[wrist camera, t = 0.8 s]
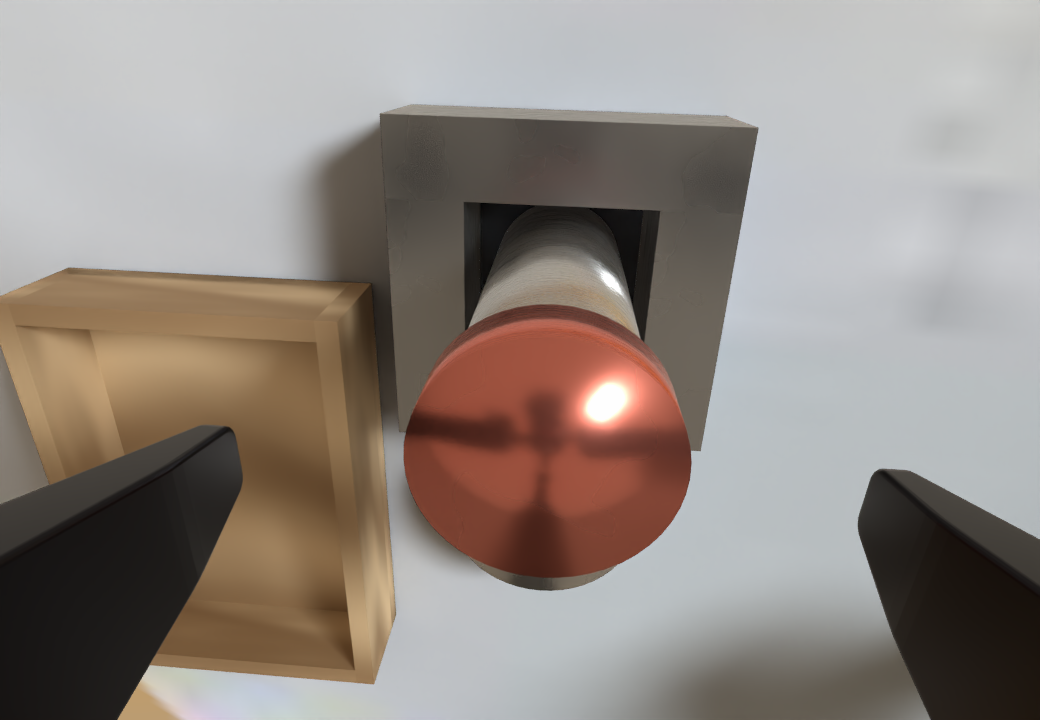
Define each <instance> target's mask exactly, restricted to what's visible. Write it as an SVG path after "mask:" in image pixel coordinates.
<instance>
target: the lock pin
mask: <svg viewBox="0 0 1040 720" xmlns="http://www.w3.org/2000/svg"><path fill="white" fill-rule="evenodd" d="M404 466H405V474H406V478H407V481H408V485H409V488H410V491H411V493H412V495H413V498H414V500H415V502H416V504H417V506H418V507H419V509H420V510H421V512H422V514H423V515H424V517H425V518H426V519H427V521H428V522H429V523H430V524H431V525H432V527H433V528H434V529H435V530H436V531H437V532H438V533H439V534H440V535H441V536H442V537H443V538H444V539H445V540H446V541H448V542H449V543H450V544H452V545H453V546H454V547H456V548H457V549H458V550H460V551H461V552H463V553H465V554H466V555H468V556H470V557H471V558H473V559H475V560H477V561H479V562H482V563H484V564H486V565H488V566H491V567H494V568H497V569H500V570H502V571H505V572H510V573H514V574H519V575H524V576H532V577H542V578H561V577H574V576H580V575H585V574H590V573H594V572H597V571H601V570H604V569H607V568H610V567H612V566H615V565H617V564H620V563H622V562H624V561H626V560H627V559H629V558H631V557H633V556H635V555H636V554H638V553H639V552H641V551H642V550H644V549H645V548H646V547H648V546H649V545H650V544H651V543H652V542H654V541H655V540H656V539H657V538H658V537H659V536H660V535H661V534H662V533H663V532H664V530H665V529H666V528H667V527H668V526H669V524H670V523H671V522H672V520H673V519H674V517H675V516H676V514H677V512H678V511H679V509H680V507H681V505H682V502H683V500H684V498H685V495H686V492H687V488H688V485H689V481H690V473H691V448H690V443H689V438H688V434H687V430H686V427H685V423H684V420H683V417H682V414H681V411H680V407H679V404H678V401H677V398H676V394H675V391H674V388H673V386H672V383H671V381H670V378H669V376H668V373H667V372H666V370H665V368H664V367H663V365H662V363H661V361H660V360H659V359H658V357H657V356H656V355H655V354H654V352H653V351H652V350H651V349H650V347H649V346H648V345H647V344H645V343H644V342H643V341H642V340H641V339H640V335H639V331H638V327H637V323H636V319H635V315H634V311H633V307H632V303H631V299H630V295H629V290H628V286H627V282H626V278H625V274H624V270H623V266H622V262H621V258H620V254H619V250H618V246H617V242H616V240H615V237H614V235H613V233H612V231H611V229H610V228H609V227H608V225H607V224H606V223H605V221H604V220H602V219H601V218H600V217H599V216H598V215H597V214H596V213H594V212H593V211H591V210H589V209H588V208H586V207H567V206H545V205H537V206H535V207H532V208H530V209H529V210H527V211H525V212H524V213H522V214H521V215H520V216H519V217H517V218H516V219H515V220H514V222H513V223H512V224H511V225H510V226H509V228H508V229H507V231H506V233H505V235H504V236H503V239H502V241H501V244H500V247H499V249H498V252H497V254H496V257H495V260H494V262H493V265H492V267H491V270H490V273H489V275H488V278H487V281H486V283H485V286H484V288H483V291H482V294H481V296H480V299H479V301H478V304H477V307H476V309H475V312H474V314H473V317H472V320H471V322H470V325H469V327H468V329H466V330H465V331H464V332H462V333H461V334H460V335H458V336H457V337H456V338H455V339H454V340H453V341H452V342H451V343H450V344H449V345H448V346H447V347H446V348H445V350H444V351H443V353H442V354H441V355H440V357H439V358H438V359H437V361H436V363H435V365H434V367H433V368H432V370H431V372H430V374H429V376H428V379H427V381H426V383H425V385H424V387H423V390H422V392H421V394H420V396H419V399H418V401H417V403H416V405H415V407H414V410H413V412H412V414H411V417H410V420H409V423H408V426H407V429H406V435H405V440H404Z"/></svg>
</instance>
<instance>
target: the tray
mask: <svg viewBox="0 0 1040 720" xmlns="http://www.w3.org/2000/svg"><path fill="white" fill-rule="evenodd" d="M0 345H1V348H2V351H3V354H4V357H5V359H6V362H7V365H8V368H9V371H10V374H11V377H12V379H13V382H14V385H15V388H16V391H17V394H18V396H19V399H20V402H21V405H22V408H23V411H24V413H25V416H26V419H27V422H28V425H29V428H30V430H31V433H32V436H33V439H34V442H35V445H36V447H37V450H38V453H39V456H40V459H41V462H42V465H43V467H44V470H45V473H46V476H47V479H48V482H49V484H50V485H51V484H53V483H56V482H58V481H61V480H63V479H66V478H68V477H71V476H73V475H76V474H78V473H81V472H83V471H86V470H88V469H91V468H94V467H96V466H99V465H101V464H104V463H106V462H109V461H111V460H114V459H116V458H119V457H121V456H124V455H126V454H129V453H131V452H134V451H136V450H139V449H141V448H144V447H146V446H149V445H151V444H154V443H156V442H159V441H161V440H164V439H167V438H169V437H172V436H174V435H177V434H179V433H182V432H184V431H187V430H189V429H192V428H194V427H197V426H199V425H220V426H228V427H230V428H231V429H232V430H233V431H234V433H235V436H236V440H237V445H238V450H239V456H240V461H241V466H242V472H243V483H242V487H241V491H240V493H239V495H238V498H237V500H236V502H235V504H234V506H233V509H232V511H231V513H230V515H229V517H228V520H227V522H226V524H225V526H224V528H223V531H222V533H221V535H220V537H219V539H218V541H217V544H216V546H215V548H214V550H213V552H212V555H211V557H210V559H209V561H208V563H207V566H206V568H205V570H204V572H203V574H202V576H201V578H200V580H199V582H198V583H197V585H196V587H195V589H194V591H193V592H192V594H191V596H190V598H189V599H188V601H187V603H186V604H185V606H184V608H183V609H182V611H181V613H180V615H179V616H178V618H177V620H176V621H175V623H174V625H173V626H172V628H171V630H170V631H169V633H168V635H167V636H166V638H165V640H164V642H163V643H162V645H161V647H160V648H159V650H158V652H157V653H156V655H155V657H154V658H153V660H152V662H151V663H150V665H155V666H167V667H179V668H190V669H202V670H214V671H225V672H237V673H249V674H260V675H272V676H284V677H295V678H307V679H319V680H330V681H342V682H354V683H365V684H374V683H375V680H376V676H377V673H378V670H379V667H380V664H381V661H382V657H383V654H384V651H385V648H386V645H387V641H388V638H389V635H390V632H391V629H392V626H393V622H394V619H395V616H396V607H395V594H394V581H393V567H392V554H391V540H390V527H389V513H388V500H387V487H386V473H385V460H384V446H383V433H382V419H381V406H380V393H379V379H378V366H377V352H376V339H375V326H374V312H373V299H372V285H371V283H353V282H333V281H314V280H295V279H275V278H256V277H237V276H218V275H198V274H179V273H160V272H141V271H121V270H102V269H83V268H67V269H64V270H62V271H60V272H57V273H55V274H52V275H50V276H48V277H45V278H43V279H40V280H38V281H36V282H33V283H31V284H28V285H26V286H24V287H21V288H19V289H16V290H14V291H12V292H9V293H7V294H4V295H2V296H0Z"/></svg>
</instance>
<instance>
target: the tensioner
mask: <svg viewBox="0 0 1040 720" xmlns="http://www.w3.org/2000/svg"><path fill="white" fill-rule="evenodd" d="M380 125H381V141H382V158H383V174H384V191H385V207H386V223H387V240H388V256H389V272H390V289H391V305H392V321H393V338H394V354H395V370H396V387H397V403H398V419H399V432H406V429H407V426H408V423H409V420H410V417H411V414H412V412H413V410H414V407H415V405H416V403H417V401H418V399H419V396H420V394H421V392H422V390H423V387H424V385H425V383H426V381H427V379H428V376H429V374H430V372H431V370H432V368H433V367H434V365H435V363H436V361H437V359H438V358H439V357H440V355H441V354H442V353H443V351H444V350H445V348H446V347H447V346H448V345H449V344H450V343H451V342H452V341H453V340H454V339H455V338H456V337H457V336H458V335H460V334H461V333H462V332H464V331H465V330H466V329H468V327H469V325H470V322H471V320H472V317H473V314H474V312H475V309H476V307H477V304H478V301H479V299H480V266H481V203H500V204H522V205H545V206H567V207H590V208H612V209H634V210H643V219H642V228H641V237H640V246H639V255H638V264H637V273H636V281H635V290H634V299H633V311H634V315H635V319H636V323H637V327H638V331H639V335H640V339H641V340H642V341H643V342H644V343H645V344H647V345H648V346H649V347H650V349H651V350H652V351H653V352H654V354H655V355H656V356H657V357H658V359H659V360H660V361H661V363H662V365H663V367H664V368H665V370H666V372H667V373H668V376H669V378H670V381H671V383H672V386H673V388H674V391H675V394H676V398H677V401H678V404H679V407H680V411H681V414H682V417H683V420H684V423H685V427H686V430H687V434H688V438H689V443H690V448H691V451H701V445H702V440H703V434H704V429H705V423H706V417H707V412H708V406H709V401H710V395H711V390H712V384H713V378H714V373H715V367H716V362H717V356H718V351H719V345H720V339H721V334H722V328H723V323H724V317H725V312H726V306H727V300H728V295H729V289H730V284H731V278H732V273H733V267H734V261H735V256H736V250H737V245H738V239H739V234H740V228H741V222H742V217H743V211H744V206H745V200H746V195H747V189H748V183H749V178H750V172H751V167H752V161H753V156H754V150H755V144H756V139H757V133H758V127H755V126H752V125H750V124H747V123H744V122H741V121H739V120H736V119H733V118H731V117H728V116H711V115H684V114H656V113H629V112H602V111H574V110H547V109H520V108H493V107H465V106H438V105H408V106H405V107H401V108H398V109H394V110H391V111H387V112H384V113H380ZM469 557H470V556H469ZM470 558H471V557H470ZM471 559H472V560H473V561H474V562H475V563H476V564H477V565H478V566H479V567H480V568H482V569H483V570H484V571H486V572H487V573H489V574H490V575H492V576H494V577H495V578H497V579H499V580H502V581H504V582H506V583H509V584H512V585H515V586H518V587H522V588H527V589H534V590H549V591H552V590H564V589H569V588H575V587H578V586H582V585H585V584H587V583H590V582H592V581H595V580H596V579H598V578H600V577H602V576H604V575H605V574H606V573H608V572H609V571H611V570H612V569H613V568H614V567H615V566H616V565H615V566H612V567H610V568H607V569H604V570H601V571H597V572H594V573H590V574H585V575H580V576H574V577H561V578H542V577H532V576H524V575H519V574H514V573H510V572H505V571H502V570H500V569H497V568H494V567H491V566H488V565H486V564H484V563H482V562H479V561H477V560H475V559H473V558H471Z"/></svg>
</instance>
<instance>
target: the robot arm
mask: <svg viewBox="0 0 1040 720" xmlns="http://www.w3.org/2000/svg"><path fill="white" fill-rule="evenodd" d="M242 483H243V472H242V466H241V461H240V456H239V450H238V445H237V440H236V436H235V433H234V431H233V430H232V429H231V428H230V427H228V426H220V425H199V426H197V427H194V428H192V429H189V430H187V431H184V432H182V433H179V434H177V435H174V436H172V437H169V438H167V439H164V440H161V441H159V442H156V443H154V444H151V445H149V446H146V447H144V448H141V449H139V450H136V451H134V452H131V453H129V454H126V455H124V456H121V457H119V458H116V459H114V460H111V461H109V462H106V463H104V464H101V465H99V466H96V467H94V468H91V469H88V470H86V471H83V472H81V473H78V474H76V475H73V476H71V477H68V478H66V479H63V480H61V481H58V482H56V483H53V484H51V485H48V486H46V487H43V488H41V489H38V490H36V491H33V492H31V493H28V494H26V495H23V496H20V497H18V498H15V499H13V500H10V501H8V502H5V503H3V504H0V720H117V719H118V717H119V716H120V714H121V712H122V711H123V709H124V707H125V706H126V704H127V702H128V701H129V699H130V697H131V695H132V694H133V692H134V690H135V689H136V687H137V685H138V684H139V682H140V680H141V679H142V677H143V675H144V674H145V672H146V670H147V669H148V667H149V665H150V663H151V662H152V660H153V658H154V657H155V655H156V653H157V652H158V650H159V648H160V647H161V645H162V643H163V642H164V640H165V638H166V636H167V635H168V633H169V631H170V630H171V628H172V626H173V625H174V623H175V621H176V620H177V618H178V616H179V615H180V613H181V611H182V609H183V608H184V606H185V604H186V603H187V601H188V599H189V598H190V596H191V594H192V592H193V591H194V589H195V587H196V585H197V583H198V582H199V580H200V578H201V576H202V574H203V572H204V570H205V568H206V566H207V563H208V561H209V559H210V557H211V555H212V552H213V550H214V548H215V546H216V544H217V541H218V539H219V537H220V535H221V533H222V531H223V528H224V526H225V524H226V522H227V520H228V517H229V515H230V513H231V511H232V509H233V506H234V504H235V502H236V500H237V498H238V495H239V493H240V491H241V487H242ZM858 532H859V536H860V539H861V542H862V545H863V548H864V551H865V554H866V557H867V560H868V563H869V567H870V570H871V573H872V576H873V579H874V582H875V585H876V588H877V591H878V594H879V597H880V600H881V603H882V606H883V609H884V612H885V615H886V618H887V621H888V623H889V626H890V629H891V632H892V634H893V637H894V639H895V641H896V644H897V646H898V648H899V651H900V653H901V655H902V658H903V660H904V662H905V664H906V666H907V668H908V671H909V673H910V675H911V677H912V679H913V682H914V684H915V686H916V688H917V690H918V693H919V695H920V697H921V699H922V701H923V704H924V706H925V708H926V710H927V712H928V714H929V717H930V719H931V720H1040V539H1038V538H1036V537H1034V536H1032V535H1030V534H1028V533H1027V532H1025V531H1023V530H1021V529H1019V528H1017V527H1015V526H1013V525H1011V524H1010V523H1008V522H1006V521H1004V520H1002V519H1000V518H998V517H996V516H994V515H993V514H991V513H989V512H987V511H985V510H983V509H981V508H979V507H977V506H976V505H974V504H972V503H970V502H968V501H966V500H964V499H962V498H961V497H959V496H957V495H955V494H953V493H951V492H949V491H947V490H945V489H944V488H942V487H940V486H938V485H936V484H934V483H932V482H930V481H928V480H927V479H925V478H923V477H921V476H919V475H917V474H915V473H913V472H911V471H907V470H896V469H879V470H877V471H875V472H874V474H873V475H872V477H871V479H870V482H869V485H868V488H867V491H866V495H865V498H864V501H863V504H862V507H861V510H860V513H859V517H858Z"/></svg>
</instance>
